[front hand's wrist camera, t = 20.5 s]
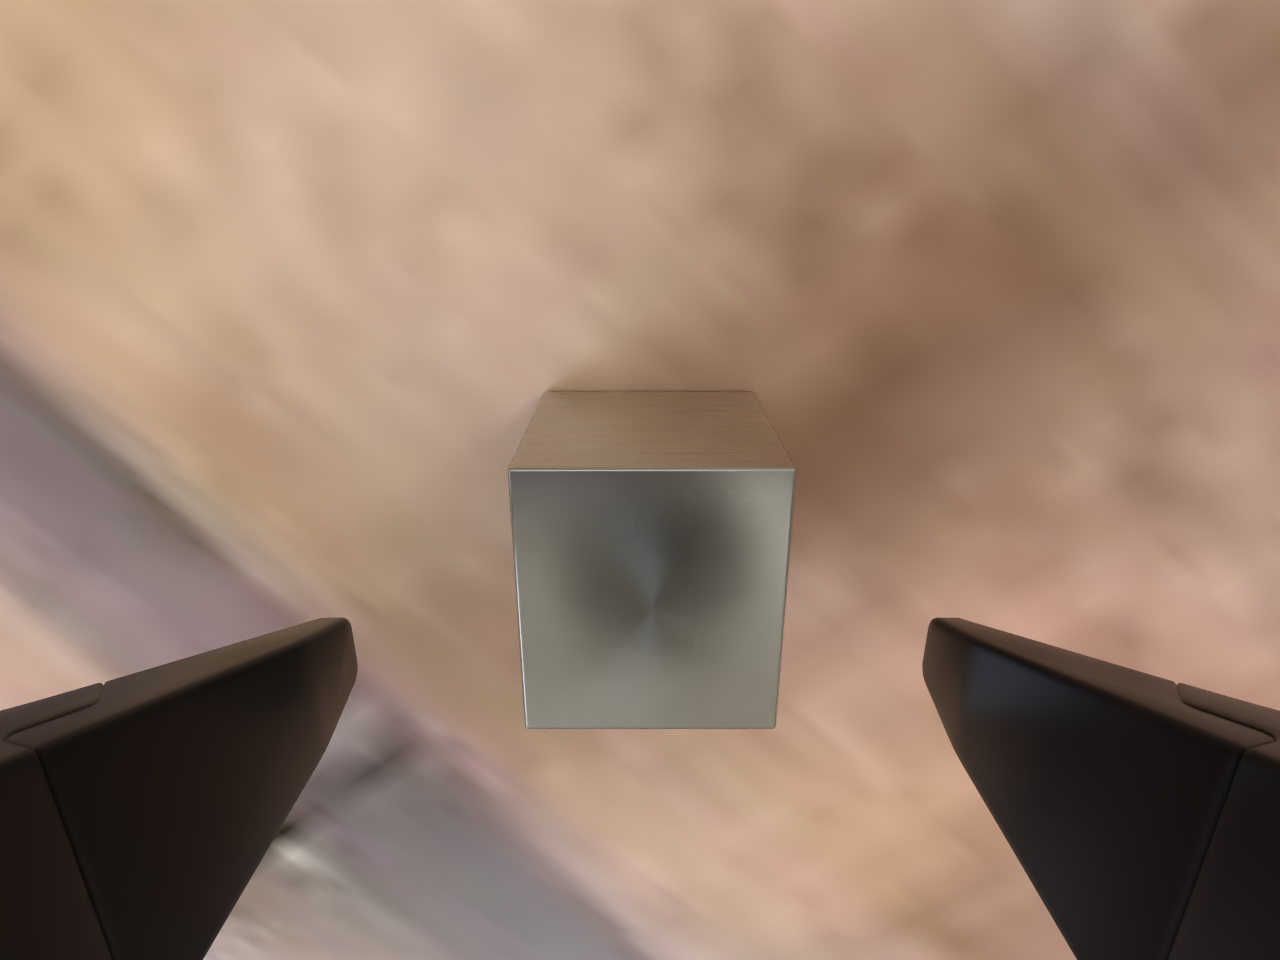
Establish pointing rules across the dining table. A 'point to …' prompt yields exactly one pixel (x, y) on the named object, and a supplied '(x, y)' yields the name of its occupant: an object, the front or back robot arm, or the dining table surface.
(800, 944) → the dining table surface
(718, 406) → the silver metal block
